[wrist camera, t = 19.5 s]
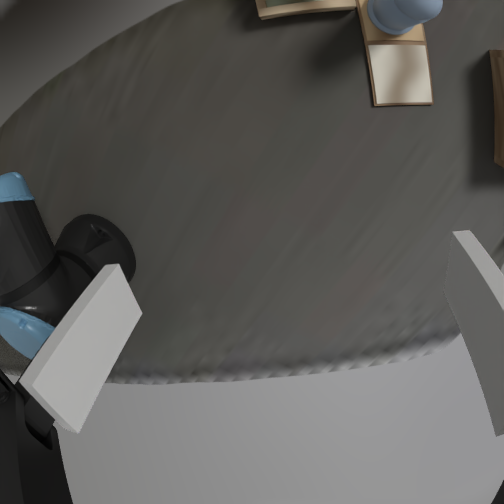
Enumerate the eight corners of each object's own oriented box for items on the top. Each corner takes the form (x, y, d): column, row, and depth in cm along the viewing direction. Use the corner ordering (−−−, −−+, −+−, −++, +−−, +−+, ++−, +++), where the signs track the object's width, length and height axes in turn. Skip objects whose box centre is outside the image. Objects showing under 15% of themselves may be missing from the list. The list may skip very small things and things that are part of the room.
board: (374, 105, 34) (374, 106, 34) (336, -66, 23) (336, -68, 22) (432, 104, 33) (434, 104, 32) (397, -64, 21) (398, -66, 20)
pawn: (371, 35, 29) (401, 21, 19) (361, -10, 26) (385, -39, 16) (418, 35, 28) (462, 26, 18) (408, -9, 25) (448, -33, 15)
